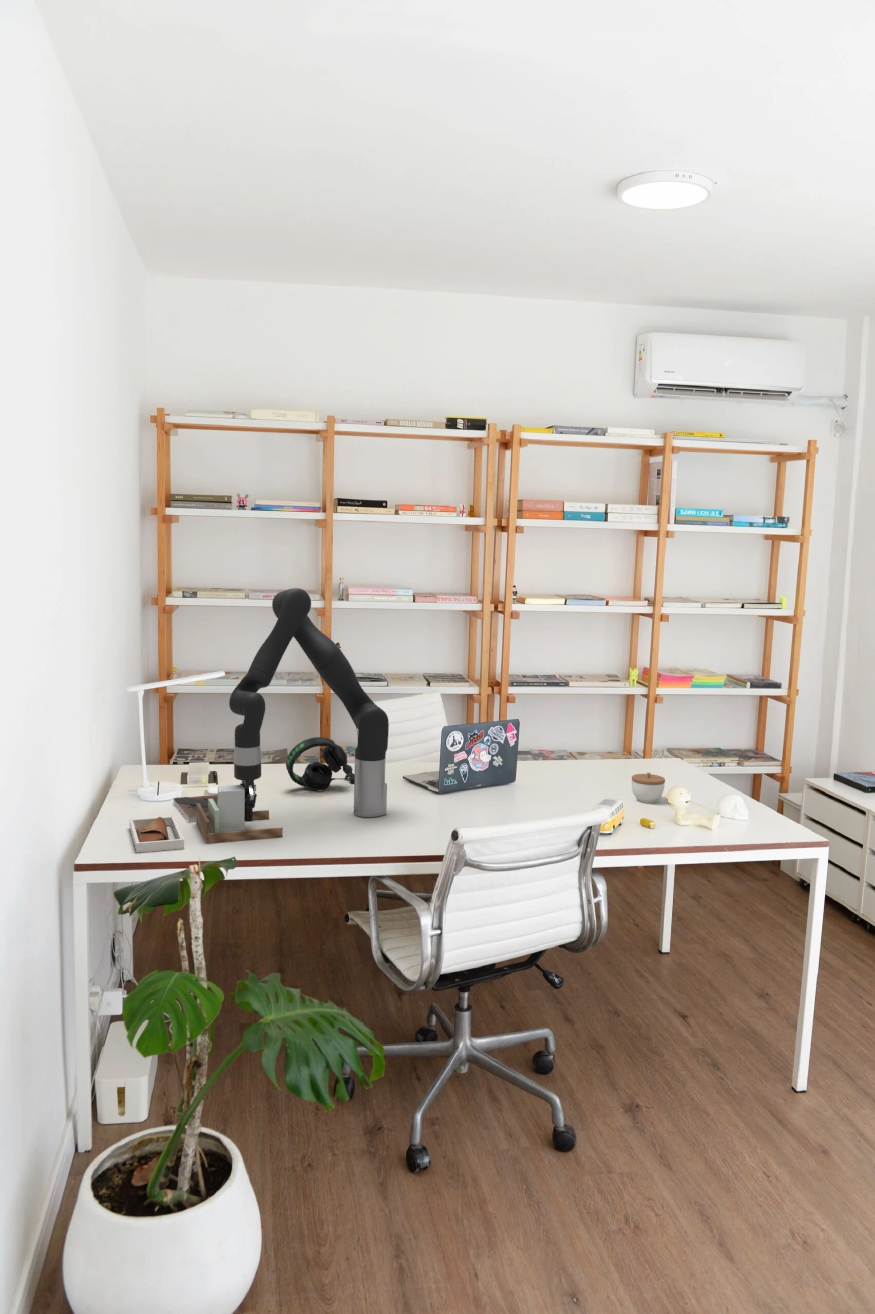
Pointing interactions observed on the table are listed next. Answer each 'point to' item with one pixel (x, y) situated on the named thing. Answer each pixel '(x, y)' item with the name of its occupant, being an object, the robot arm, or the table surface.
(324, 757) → the headset
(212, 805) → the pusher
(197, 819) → the lane
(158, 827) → the sunglasses case
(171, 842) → the case corral
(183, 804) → the picture frame
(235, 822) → the supplement box
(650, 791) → the lidded jar
